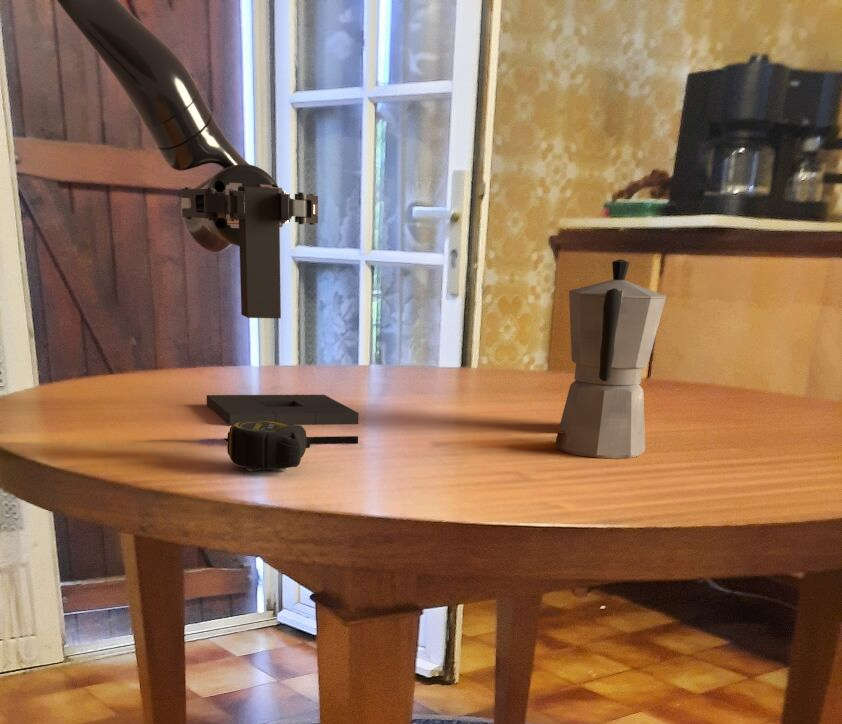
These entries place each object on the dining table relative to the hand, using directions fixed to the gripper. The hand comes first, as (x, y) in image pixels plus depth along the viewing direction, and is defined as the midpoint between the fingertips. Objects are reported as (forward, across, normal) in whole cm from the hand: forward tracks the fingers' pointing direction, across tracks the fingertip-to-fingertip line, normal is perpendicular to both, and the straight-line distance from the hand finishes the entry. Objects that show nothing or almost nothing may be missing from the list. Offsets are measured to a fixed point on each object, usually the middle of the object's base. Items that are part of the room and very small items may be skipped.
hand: (263, 206), depth 96 cm
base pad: (-7, +2, +21) cm, 22 cm away
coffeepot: (+5, +33, +21) cm, 40 cm away
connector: (-3, 0, +10) cm, 10 cm away
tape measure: (+12, -1, +21) cm, 24 cm away
